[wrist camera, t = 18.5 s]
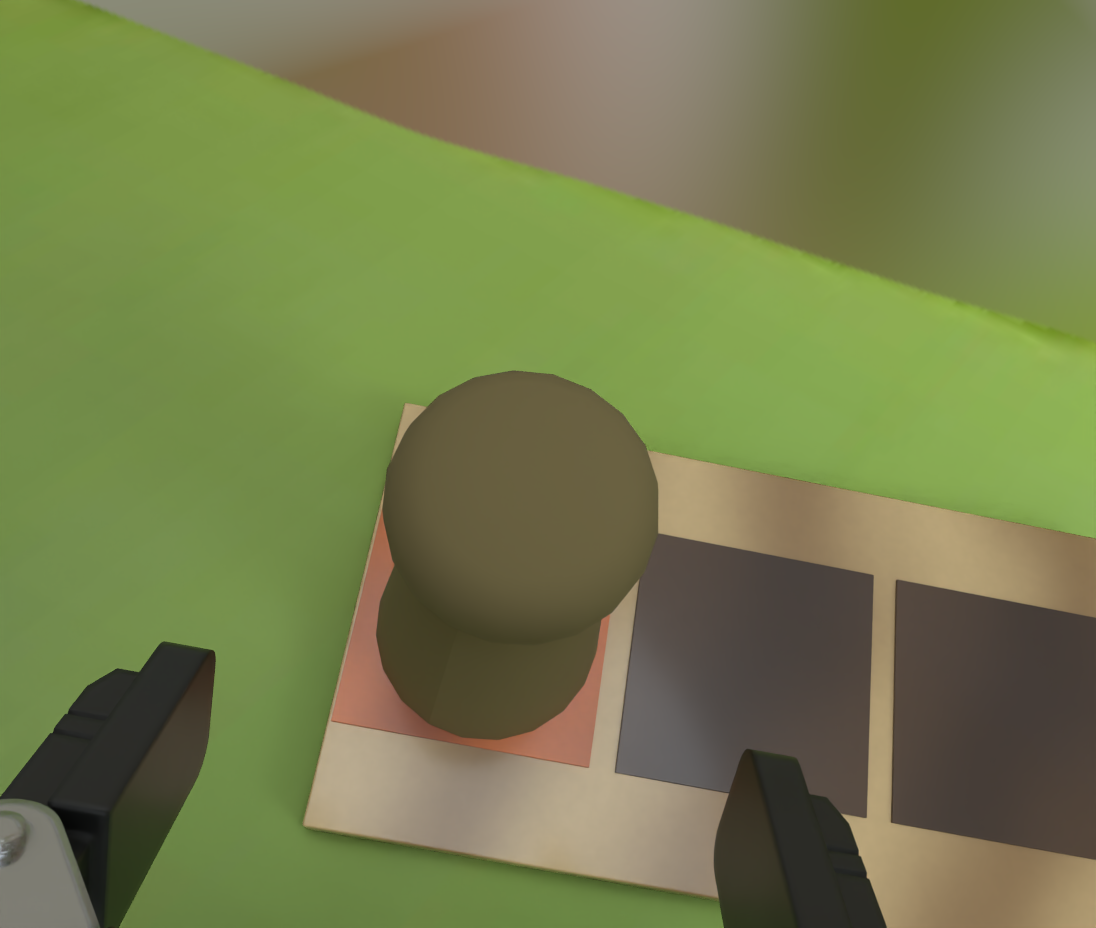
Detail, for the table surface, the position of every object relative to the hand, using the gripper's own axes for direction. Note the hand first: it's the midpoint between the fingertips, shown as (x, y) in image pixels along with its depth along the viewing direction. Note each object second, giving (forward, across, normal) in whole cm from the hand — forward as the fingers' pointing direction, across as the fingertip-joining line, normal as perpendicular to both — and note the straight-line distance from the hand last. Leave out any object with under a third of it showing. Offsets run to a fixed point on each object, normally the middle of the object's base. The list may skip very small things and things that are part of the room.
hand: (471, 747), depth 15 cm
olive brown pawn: (+12, 0, +5) cm, 13 cm away
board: (+13, -8, +6) cm, 16 cm away
